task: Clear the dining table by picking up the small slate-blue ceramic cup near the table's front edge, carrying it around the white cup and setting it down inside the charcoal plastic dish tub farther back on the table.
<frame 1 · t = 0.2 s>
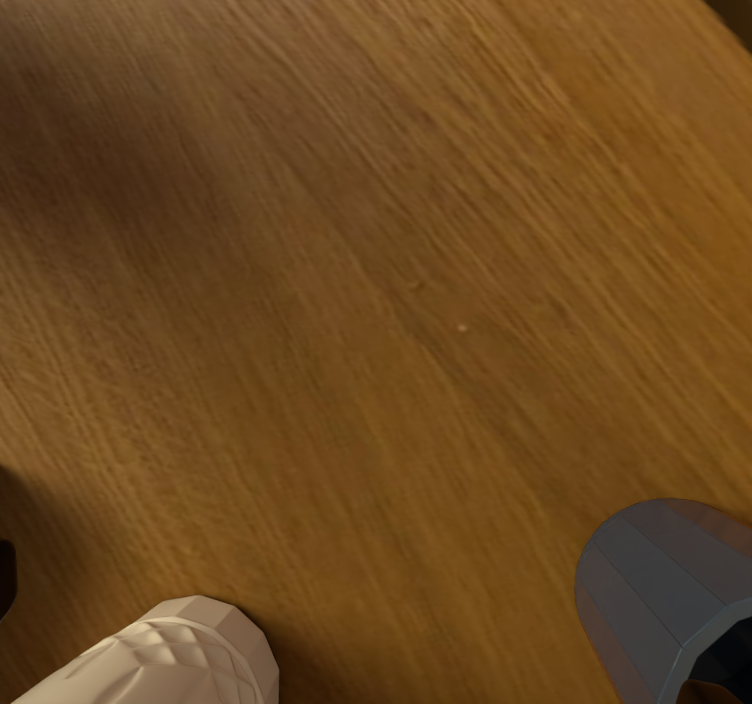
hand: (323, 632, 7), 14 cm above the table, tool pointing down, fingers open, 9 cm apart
cup: (673, 593, 20), on the table
white cup: (201, 676, 22), on the table
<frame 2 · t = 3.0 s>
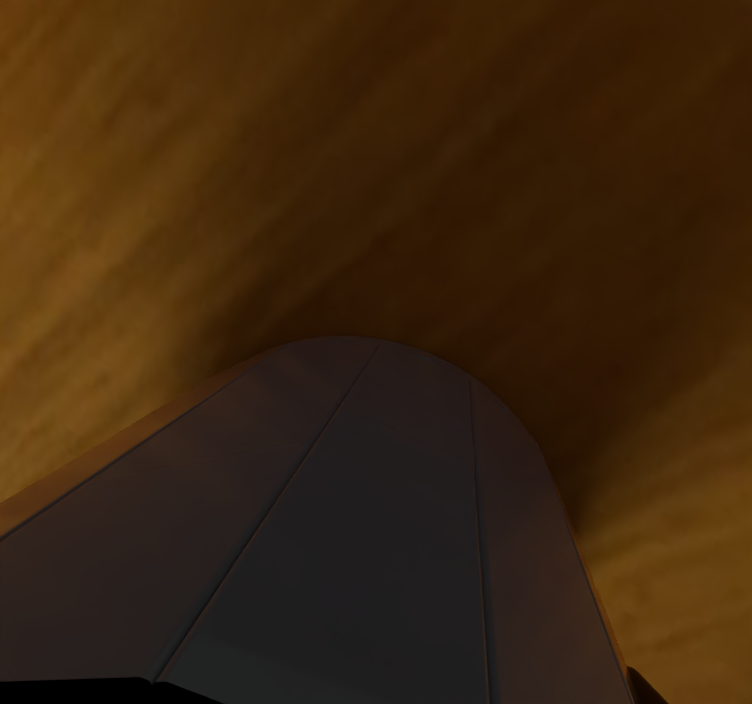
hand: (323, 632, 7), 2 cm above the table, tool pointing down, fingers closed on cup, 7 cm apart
cup: (351, 535, 9), on the table, touching gripper
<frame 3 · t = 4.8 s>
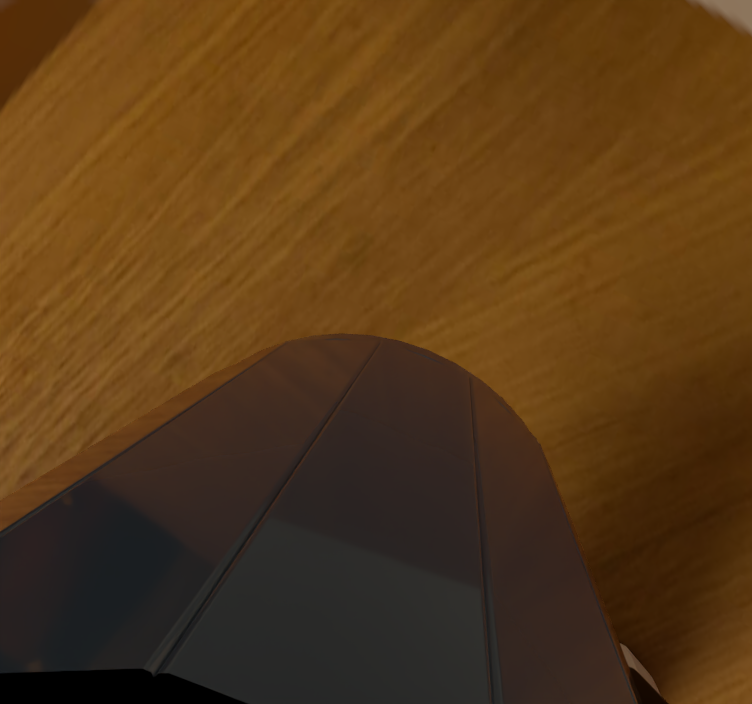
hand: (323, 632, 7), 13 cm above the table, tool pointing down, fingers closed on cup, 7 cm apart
cup: (351, 533, 9), point 11 cm above the table, touching gripper
white cup: (563, 693, 22), on the table
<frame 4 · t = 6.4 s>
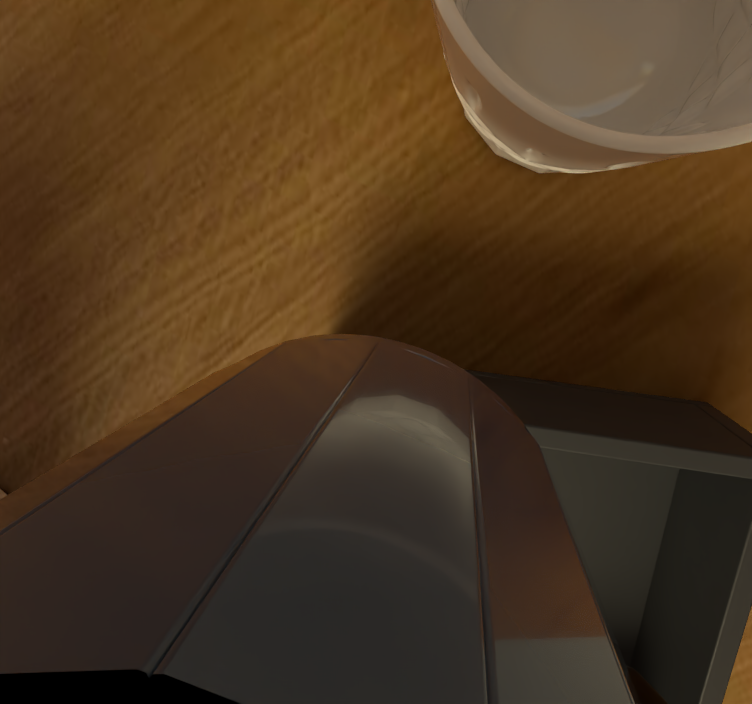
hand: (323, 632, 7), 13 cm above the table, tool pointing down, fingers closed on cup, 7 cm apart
cup: (350, 533, 9), point 11 cm above the table, touching gripper
white cup: (565, 61, 17), on the table
tub: (480, 542, 21), on the table
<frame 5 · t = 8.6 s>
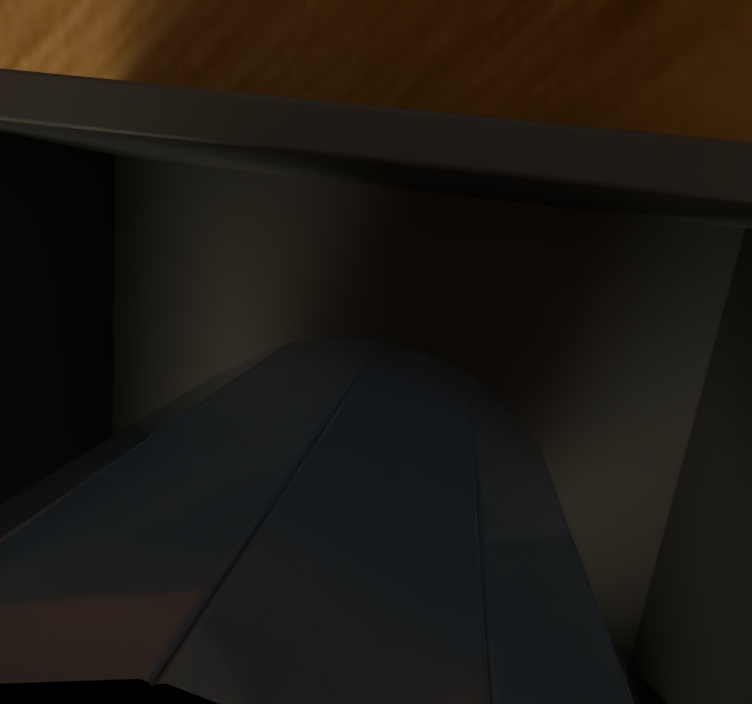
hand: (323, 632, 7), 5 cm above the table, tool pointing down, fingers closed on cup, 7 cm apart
cup: (351, 535, 9), point 3 cm above the table, touching gripper
tub: (375, 469, 12), on the table
when the fingers open (3 cm above the table, at t = 10.1 s): cup stays where it is, resting on tub.
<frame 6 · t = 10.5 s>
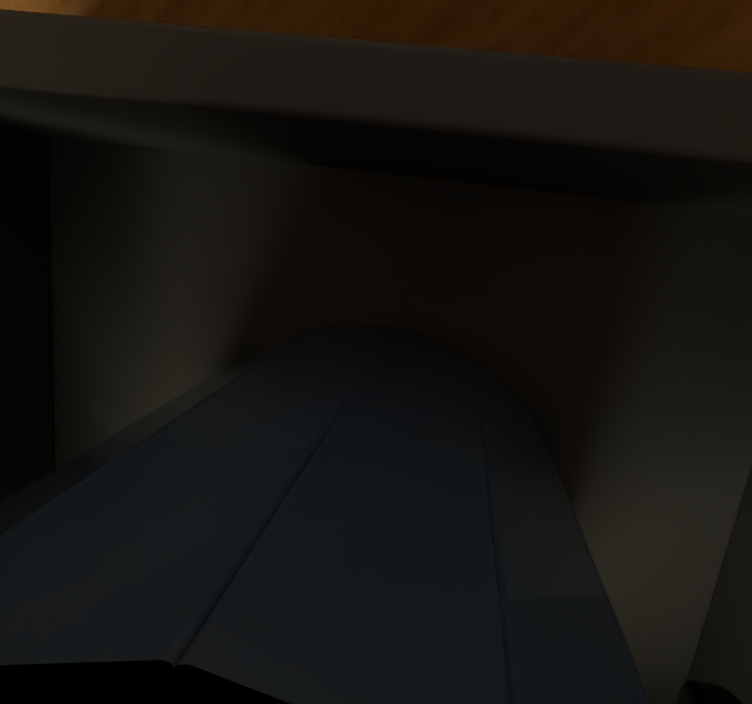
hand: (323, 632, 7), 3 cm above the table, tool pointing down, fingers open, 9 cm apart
cup: (363, 511, 10), resting on tub
tub: (366, 509, 10), on the table
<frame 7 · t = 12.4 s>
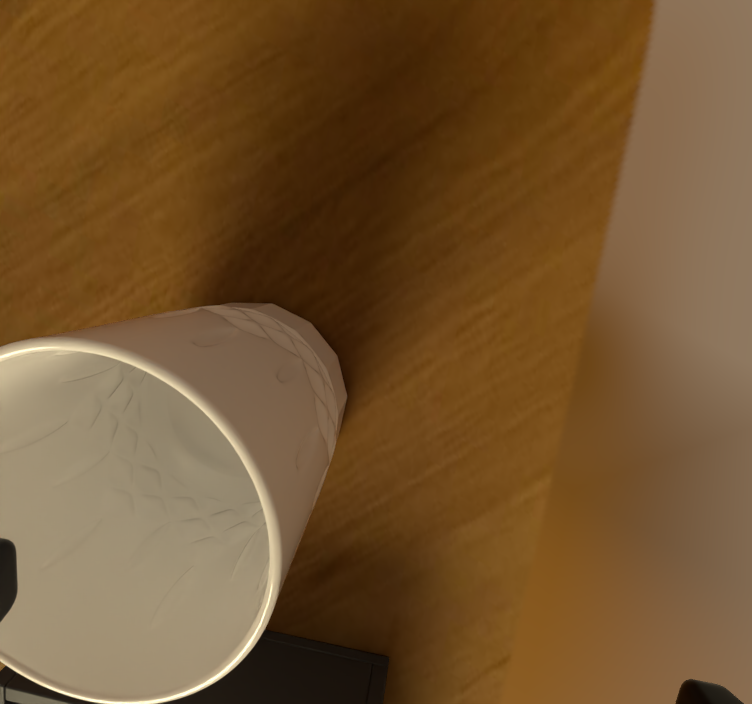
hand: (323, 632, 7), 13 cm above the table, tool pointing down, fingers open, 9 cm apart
white cup: (260, 389, 21), on the table
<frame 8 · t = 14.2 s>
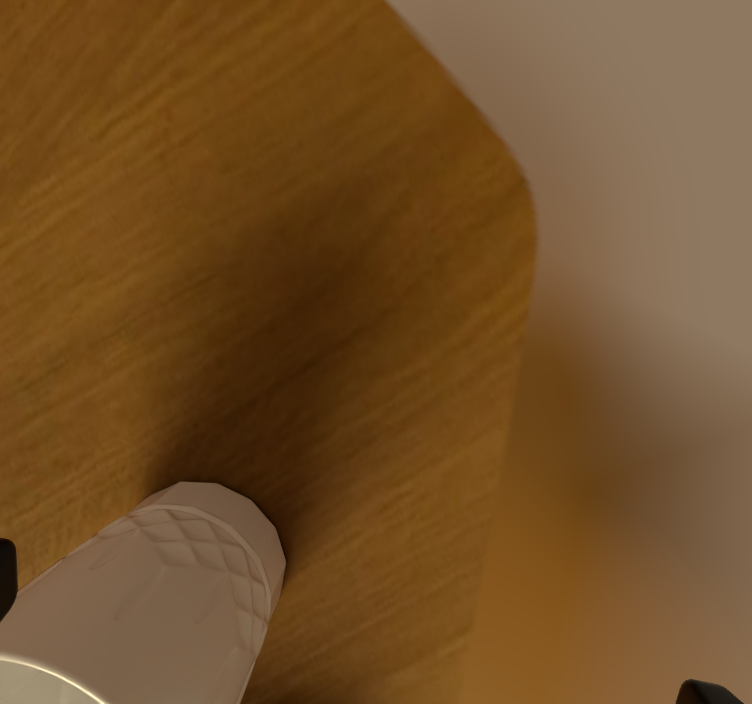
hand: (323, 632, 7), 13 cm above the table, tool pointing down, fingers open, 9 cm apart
white cup: (210, 552, 23), on the table
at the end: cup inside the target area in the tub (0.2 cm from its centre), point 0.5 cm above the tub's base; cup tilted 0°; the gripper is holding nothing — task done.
